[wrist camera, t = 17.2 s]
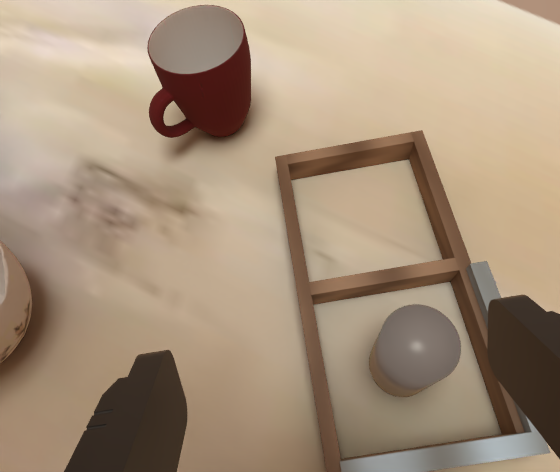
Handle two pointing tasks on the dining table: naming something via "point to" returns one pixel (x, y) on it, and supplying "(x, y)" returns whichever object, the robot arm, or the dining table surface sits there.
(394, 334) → the grey dome-topped cylinder
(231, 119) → the mug
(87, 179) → the dining table surface
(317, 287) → the divider rack
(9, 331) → the teacup
